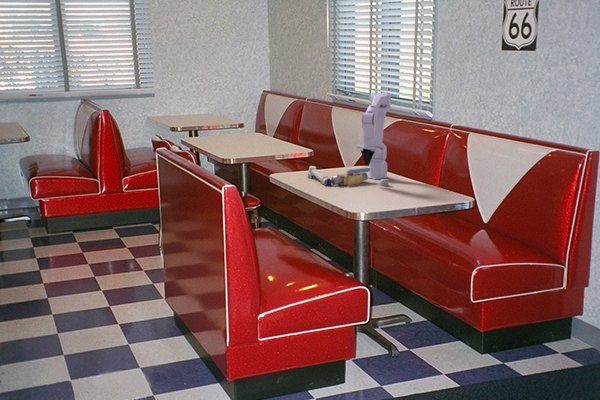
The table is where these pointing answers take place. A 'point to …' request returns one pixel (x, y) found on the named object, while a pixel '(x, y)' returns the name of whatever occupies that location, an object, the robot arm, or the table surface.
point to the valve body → (349, 179)
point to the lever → (357, 170)
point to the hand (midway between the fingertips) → (367, 164)
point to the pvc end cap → (384, 182)
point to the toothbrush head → (318, 176)
